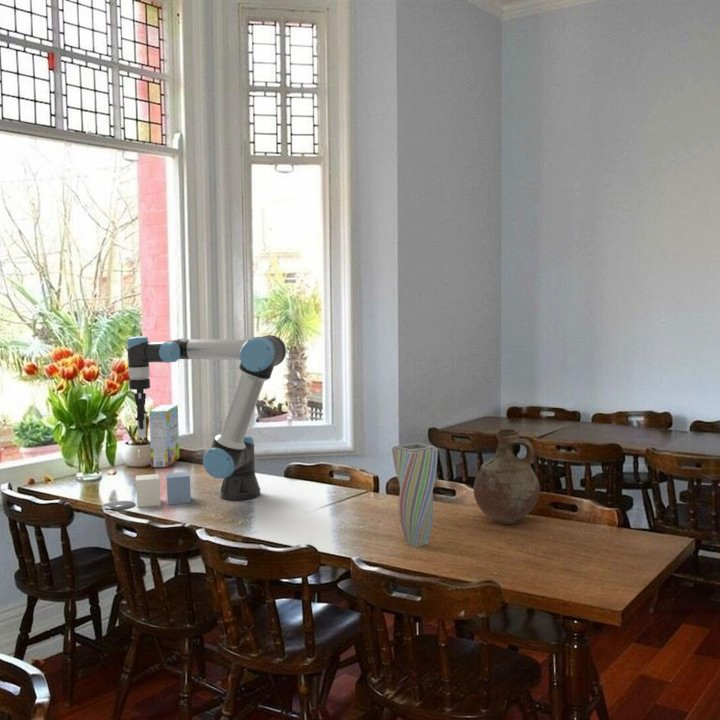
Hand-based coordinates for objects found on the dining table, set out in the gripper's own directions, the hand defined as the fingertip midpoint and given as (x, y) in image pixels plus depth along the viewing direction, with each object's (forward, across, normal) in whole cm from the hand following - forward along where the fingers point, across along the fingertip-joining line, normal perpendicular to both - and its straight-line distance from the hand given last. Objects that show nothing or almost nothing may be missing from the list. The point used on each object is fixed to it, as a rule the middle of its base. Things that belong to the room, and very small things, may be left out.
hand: (142, 434), depth 322 cm
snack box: (+26, -70, +8) cm, 75 cm away
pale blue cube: (+25, +4, +12) cm, 28 cm away
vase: (+25, +83, +81) cm, 119 cm away
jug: (+25, +68, +117) cm, 138 cm away
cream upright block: (+25, +4, +1) cm, 26 cm away
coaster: (+25, +5, -9) cm, 27 cm away
